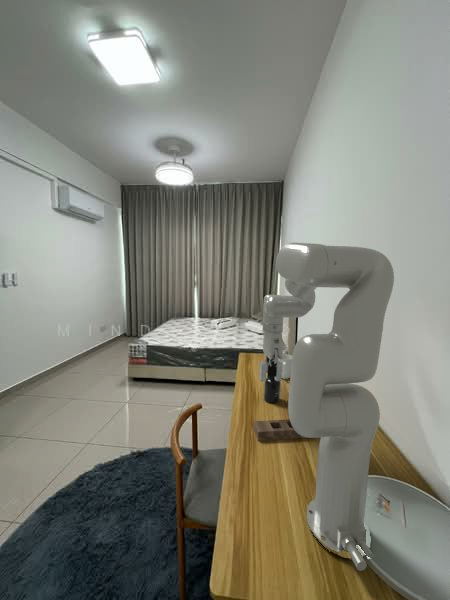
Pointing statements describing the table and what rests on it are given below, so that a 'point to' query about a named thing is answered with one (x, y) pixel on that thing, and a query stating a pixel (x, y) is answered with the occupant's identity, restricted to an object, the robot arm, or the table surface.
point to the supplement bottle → (272, 390)
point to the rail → (275, 430)
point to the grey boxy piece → (264, 370)
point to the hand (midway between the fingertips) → (270, 374)
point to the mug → (286, 366)
